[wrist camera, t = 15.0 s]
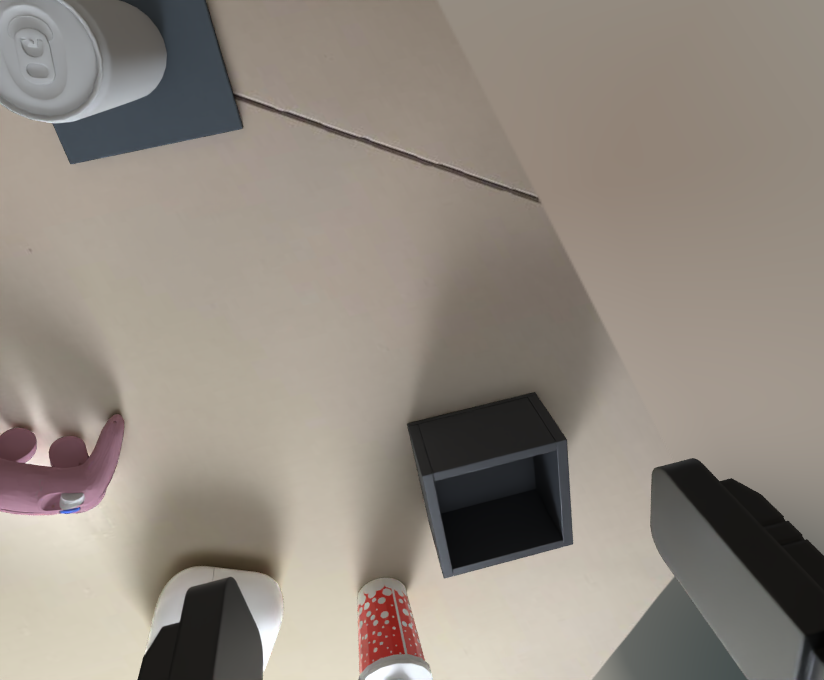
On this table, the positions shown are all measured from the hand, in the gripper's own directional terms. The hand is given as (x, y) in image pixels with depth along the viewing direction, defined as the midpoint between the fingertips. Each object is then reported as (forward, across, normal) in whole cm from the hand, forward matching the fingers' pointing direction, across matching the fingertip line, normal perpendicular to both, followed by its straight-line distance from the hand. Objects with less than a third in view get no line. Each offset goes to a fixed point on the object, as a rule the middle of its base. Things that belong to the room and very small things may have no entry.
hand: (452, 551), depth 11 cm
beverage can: (+30, +10, -10) cm, 33 cm away
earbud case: (+30, +19, +33) cm, 49 cm away
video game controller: (+30, +24, +12) cm, 40 cm away
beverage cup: (+30, +5, +37) cm, 48 cm away
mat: (+30, +10, -10) cm, 33 cm away
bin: (+30, -6, +24) cm, 39 cm away
